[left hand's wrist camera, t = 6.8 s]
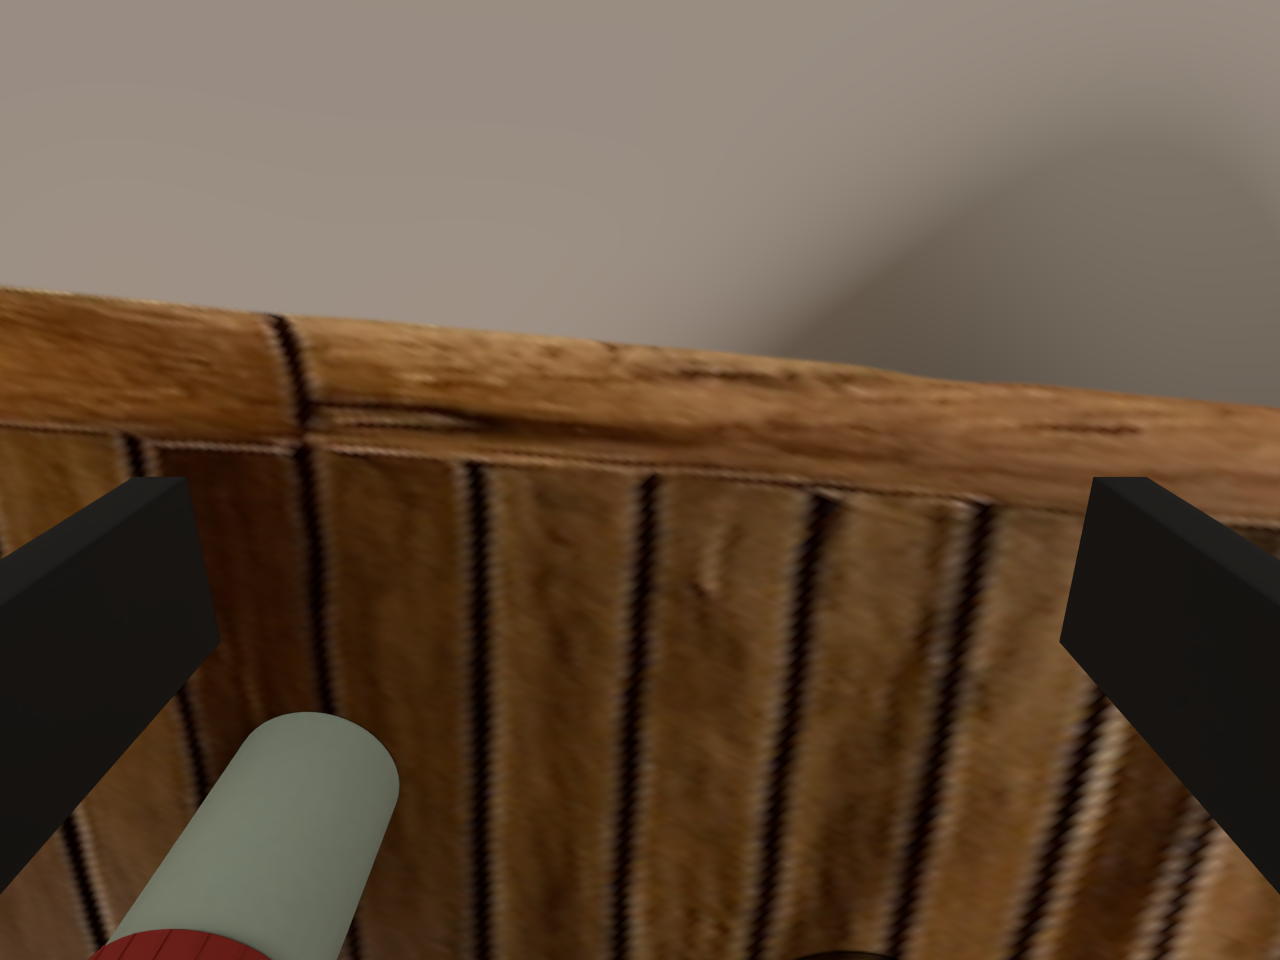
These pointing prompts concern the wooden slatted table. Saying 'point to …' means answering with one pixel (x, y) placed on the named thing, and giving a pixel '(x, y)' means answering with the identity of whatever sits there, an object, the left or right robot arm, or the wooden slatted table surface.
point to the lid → (176, 947)
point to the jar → (279, 842)
